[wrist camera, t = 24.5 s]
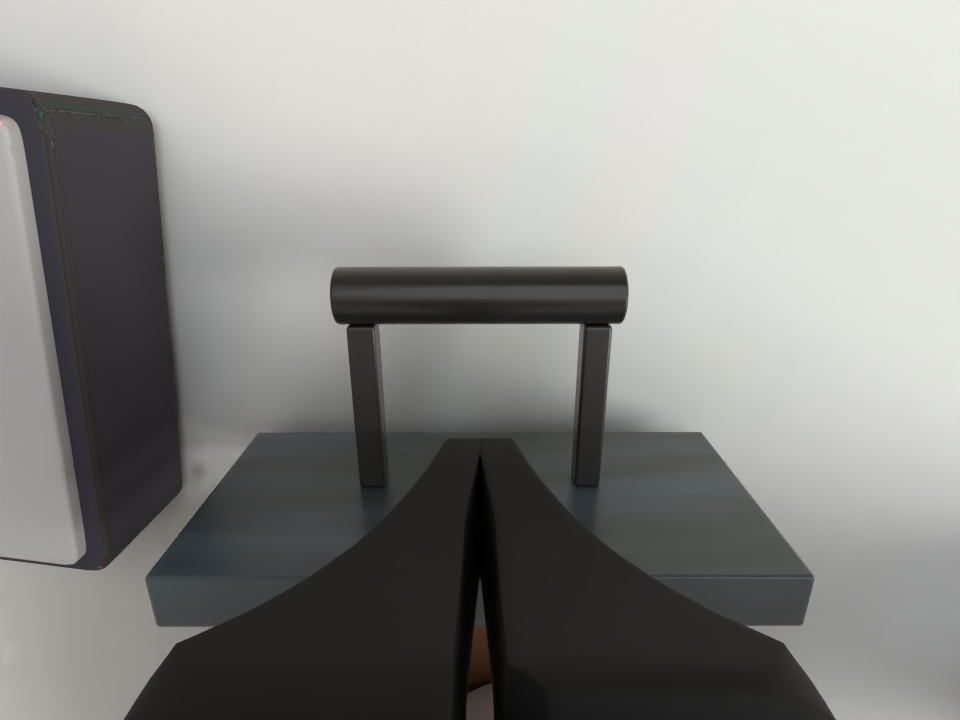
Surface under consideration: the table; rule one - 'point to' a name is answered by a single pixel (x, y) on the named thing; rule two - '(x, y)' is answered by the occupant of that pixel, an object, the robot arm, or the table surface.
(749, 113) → the table surface
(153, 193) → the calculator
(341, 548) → the drawer
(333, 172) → the table surface
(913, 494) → the table surface
